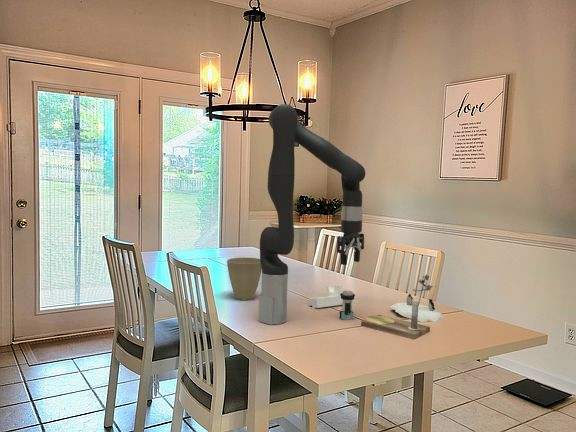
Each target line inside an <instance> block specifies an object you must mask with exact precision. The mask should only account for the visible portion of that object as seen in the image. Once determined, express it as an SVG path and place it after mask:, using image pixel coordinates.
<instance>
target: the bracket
mask: <svg viewBox="0 0 576 432" xmlns="http://www.w3.org/2000/svg"><path fill="white" fill-rule="evenodd" d="M343 291H344V290H343V285H340V284H339V285H336V286H335V288H334V285H331V286H330V285H329V286H326V292H327V296H322V297H313V298H307V299H306V304H307V305H306V306H309V307H310V306H311V307H312V309H319V308H326V307H333V306H334V307H335V306H341V305H342V303H343V299H341V295H340V294H341V293H343Z"/></svg>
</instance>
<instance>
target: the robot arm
mask: <svg viewBox="0 0 576 432" xmlns="http://www.w3.org/2000/svg"><path fill="white" fill-rule="evenodd" d="M297 112H298V111H296V109H295V108H294V107H293V106H292V105H291V104H288V103H282V104H279V105H277V106H276V107H274V109H272V111H270V113H269V116H268V124H269V126H270V128H271V129H272V137H273V138H272V150H271V151H272V152H271V154H270V155H271V156H270V160H269V163H268V170H267V171H268V172H267V191H268V195H269V197H270V199H271V202H272V203H273V206H274V208H275V211H276V213H277V219H278V221H277V225H278V226H276V227H275V226H267V227H265V228H263V230H262V232H261V234H260V238H259V259H260V264H261V267H262V271H261V286H260V287H261V291H260V294H259V295H258V322H260V323H263V324H266V325H271V326H272V325H281V324H285V323H286V322H287V319H288V318H287V317H288V316H287V314H288V289H289V288H288V285H289V284H288V283H289V282H288V280H289V266H288V264H286V263H285V262H284V261H283V260H281V258H280V257H279V255H280V256H281V255H282V256H288V255H289V254H291V252H292V251H293V249H294V244H295V225H294V222H295V221H294V193H295V179H296V178H295V176H296V174H295V173H296V172H295V171H296V170H295V169H296V168H295V167H296V166H295V165H296V163H295V143H297V145H299V146H301V147H302V148H304V149H305V150H306V151H308V152H309V153H310V154H311V155H313V156H314V157H315V158H317V159H318V160H319V161H320V162H322V163H323V164H325V165H326V166H327V167H328V168H330V169H332V170H335V171H337V173H339V174H340V175H341V177H340V178H341V179H340V180H341V189H342V206H341V207H342V208H341V215H340V217H341V219H340V221H341V222H340V231H341V232H342V236H341V235H338V236H337V242H336V243H337V244H336V253H337V254H340V265H342V266H347V265H348V253H349V250H351V248H352V249H353V250H354V251H353V261H354V262H355V263H359V262H360V261H361V260H360V259H361V252H362V250H364V249H365V234H364V233H361V232H362V231H363V192H362V190H361V189H360V188H361V187H360V183H361V182H362V181H363V180H364V179H366V169H365V168H364V166H363V165H362V163H359V162H358V161H357V160H355V159H354V158H352V157H351V156H349V155H347V154H345V153H344V152H343V151H342V150H341V149H339V148H338V147H337V146H336V145H334V144H332V142H330V141H328V140H327V139H325V138H323V137H322V136H320V135H318V134H316V133H314V132H313V131H312V130H309V128H307V127H306V126H304V125H303V124H302V123H301V121H299V115H298V113H297Z"/></svg>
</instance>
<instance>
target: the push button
mask: <svg viewBox="0 0 576 432" xmlns="http://www.w3.org/2000/svg"><path fill="white" fill-rule="evenodd" d="M340 295H341V299H343V303H342V307H341V308H342V309H341V310H340V311H339V316H338V317H339V319H341V320H343V321H345V320H353V319H354V318H357V315H355V312H354V311H353V300H355V296H356V294H355V293H354V292H353V291H352V290H343V293H341V294H340Z"/></svg>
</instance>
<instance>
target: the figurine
mask: <svg viewBox="0 0 576 432" xmlns="http://www.w3.org/2000/svg"><path fill="white" fill-rule="evenodd" d="M429 278H430V274H425V275H422V279H419V280H418V281H417V282H418V283H420V284H421V285H422V286H421V289H416V288H412V291H414V292H420V296H419V298H418V301H417V302H418V321H417V322H420V323H425V322H426V323H427V322H429V321H430V322H437V321H440V320H442V319H444V315H443V314H442V313H441V312H439V311H437V309H436V308H435V302H434V301H433V299H430V298H428V305H422V304H421V303H420V301H421V297H422V293H423V292H424V291H431V290H432V288H433V287H434V286H432V285H431V284H427V285H426V284H425V282H426V281H429V280H430V279H429ZM424 288H425V289H424ZM412 302H415V301H414V298H413V296H412V294H411V293H408V295H407V297H406V302H397V303H394V304H391V305H390V307H389V309H392V310H393V311H394V310H395V311H394V312H395V313H398V314H399V315H400V316H402V317H405V318H407V319H410V320H411V318H412Z"/></svg>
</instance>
